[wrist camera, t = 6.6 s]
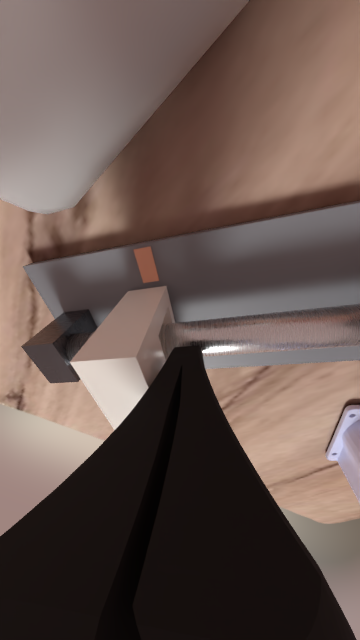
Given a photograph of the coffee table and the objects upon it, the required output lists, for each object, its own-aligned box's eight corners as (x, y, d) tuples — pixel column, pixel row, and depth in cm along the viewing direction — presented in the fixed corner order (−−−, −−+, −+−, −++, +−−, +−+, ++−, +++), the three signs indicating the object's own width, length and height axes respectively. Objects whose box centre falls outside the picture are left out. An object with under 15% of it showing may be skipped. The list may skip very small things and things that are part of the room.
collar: (181, 349, 14) (168, 437, 9) (149, 351, 14) (119, 437, 9) (166, 285, 11) (136, 357, 6) (127, 291, 12) (69, 362, 7)
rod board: (398, 349, 13) (477, 409, 10) (94, 368, 18) (63, 415, 14) (488, 175, 8) (735, 154, 4) (32, 263, 13) (-42, 290, 9)
